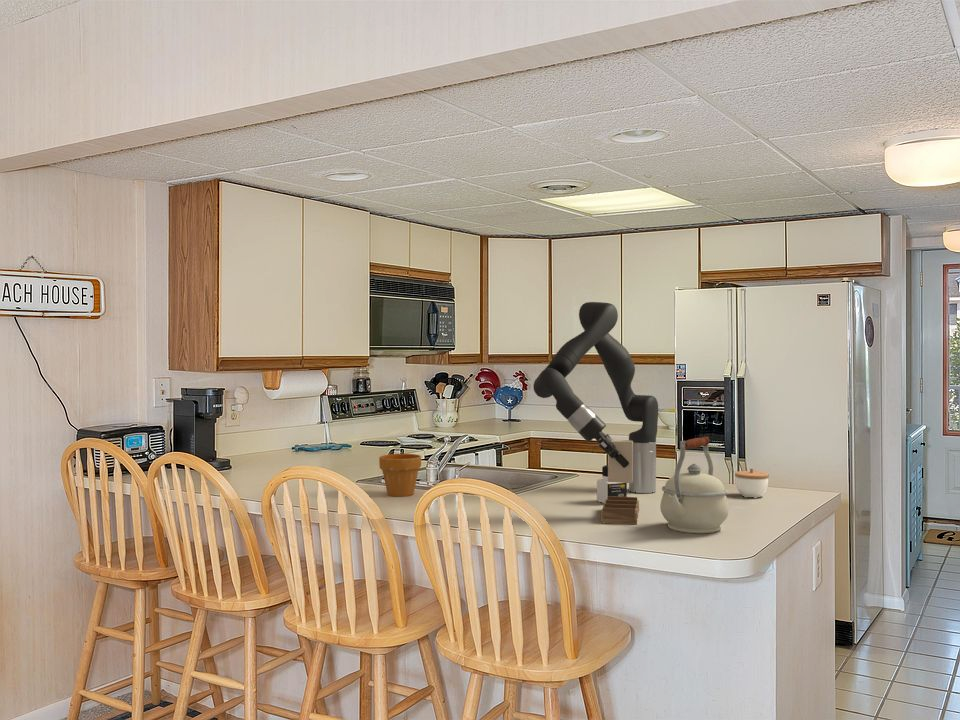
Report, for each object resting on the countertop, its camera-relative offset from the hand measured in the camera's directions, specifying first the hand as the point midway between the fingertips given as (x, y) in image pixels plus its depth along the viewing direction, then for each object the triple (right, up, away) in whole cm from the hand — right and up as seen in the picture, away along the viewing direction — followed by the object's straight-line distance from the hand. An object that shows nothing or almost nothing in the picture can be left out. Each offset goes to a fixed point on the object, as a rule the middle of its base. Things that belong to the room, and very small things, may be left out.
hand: (627, 464), depth 252 cm
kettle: (+15, -16, -16) cm, 27 cm away
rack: (-2, -15, +1) cm, 16 cm away
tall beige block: (-2, -5, 0) cm, 5 cm away
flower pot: (-70, -15, +38) cm, 81 cm away
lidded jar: (+47, -15, +34) cm, 60 cm away
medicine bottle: (-1, -15, +23) cm, 28 cm away
